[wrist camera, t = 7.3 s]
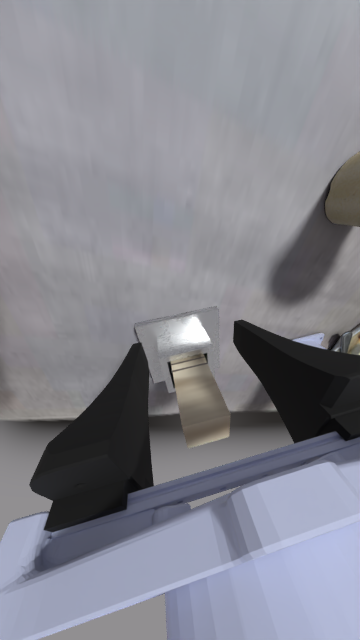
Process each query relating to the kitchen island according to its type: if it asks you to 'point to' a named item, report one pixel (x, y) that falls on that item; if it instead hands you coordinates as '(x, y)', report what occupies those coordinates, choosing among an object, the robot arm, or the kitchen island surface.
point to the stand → (179, 341)
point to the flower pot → (345, 194)
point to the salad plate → (349, 342)
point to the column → (199, 401)
